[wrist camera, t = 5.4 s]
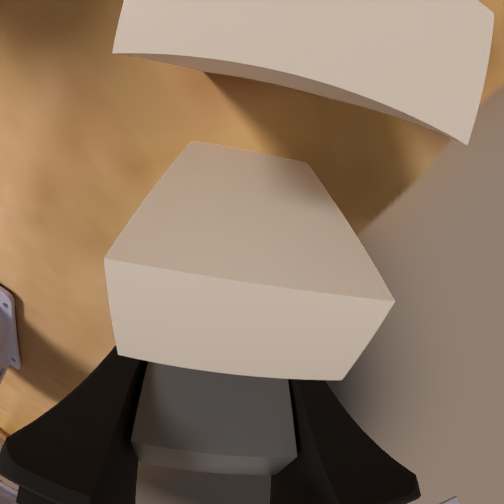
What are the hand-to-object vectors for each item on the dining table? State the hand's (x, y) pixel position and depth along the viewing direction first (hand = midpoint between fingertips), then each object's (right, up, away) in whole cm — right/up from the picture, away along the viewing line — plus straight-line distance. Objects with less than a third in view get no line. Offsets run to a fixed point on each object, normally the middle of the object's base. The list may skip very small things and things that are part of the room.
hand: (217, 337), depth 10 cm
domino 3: (0, +1, +2) cm, 2 cm away
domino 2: (+1, +6, 0) cm, 6 cm away
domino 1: (+2, +9, -3) cm, 10 cm away
